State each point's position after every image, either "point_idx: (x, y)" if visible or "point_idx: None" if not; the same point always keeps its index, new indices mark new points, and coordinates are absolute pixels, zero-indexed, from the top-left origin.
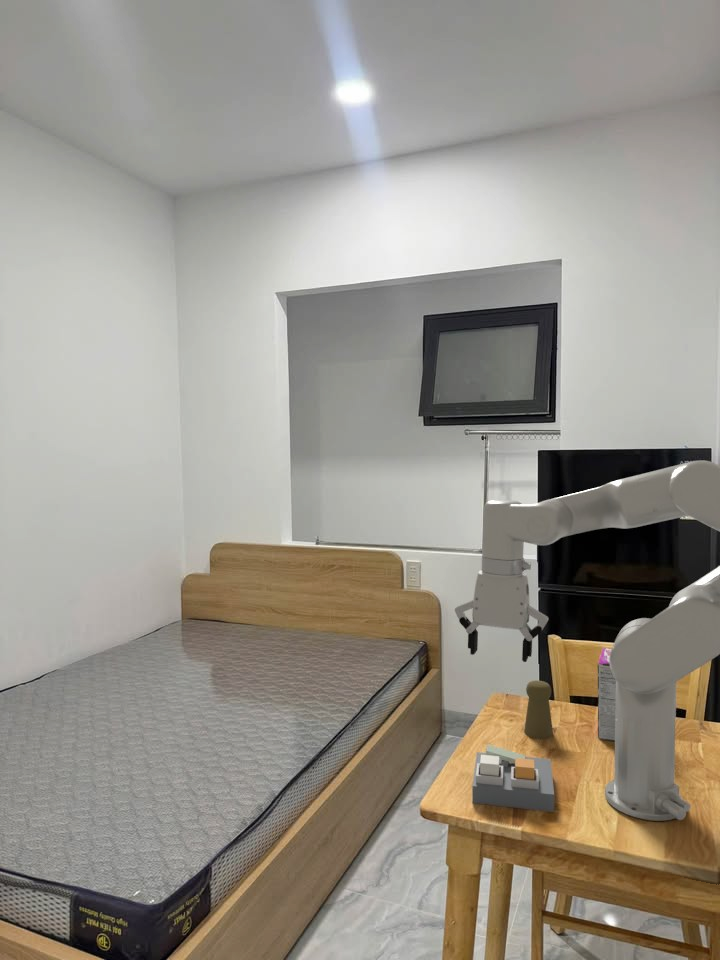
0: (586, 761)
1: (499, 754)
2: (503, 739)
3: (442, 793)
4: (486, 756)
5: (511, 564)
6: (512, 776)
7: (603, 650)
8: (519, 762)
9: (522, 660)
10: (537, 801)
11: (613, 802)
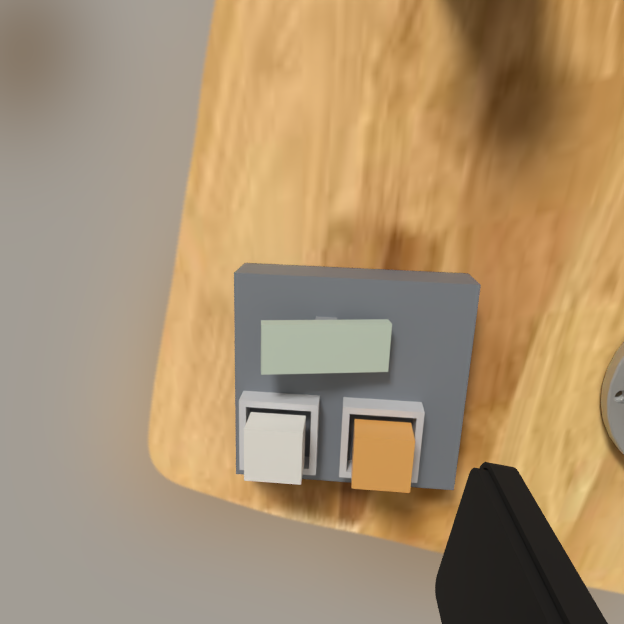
0: (613, 156)
1: (305, 372)
2: (331, 17)
3: (168, 414)
4: (261, 438)
5: None
6: (343, 463)
7: None
8: (366, 464)
9: (438, 588)
10: None
11: (613, 438)
